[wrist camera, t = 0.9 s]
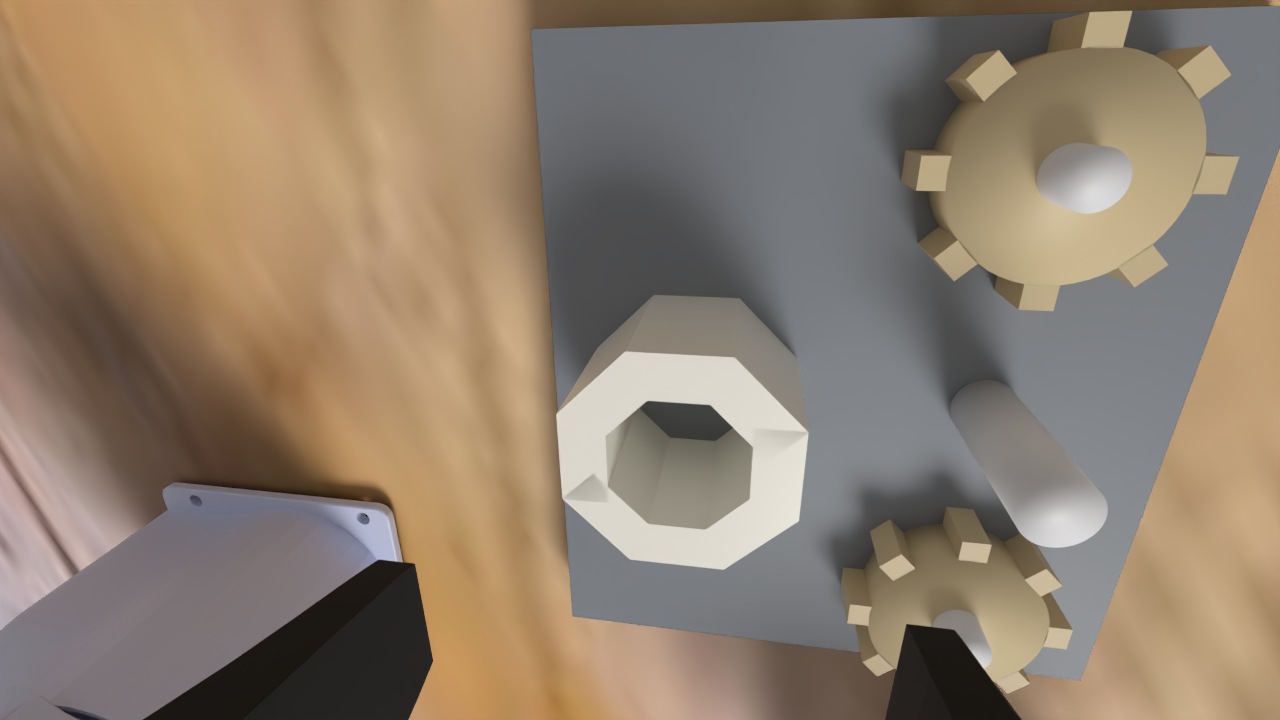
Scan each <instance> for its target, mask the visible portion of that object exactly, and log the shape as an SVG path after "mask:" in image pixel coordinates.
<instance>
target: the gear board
mask: <svg viewBox="0 0 1280 720" xmlns="http://www.w3.org/2000/svg"><path fill="white" fill-rule="evenodd" d="M531 42H532V56H533V70H534V84H535V98H536V112H537V126H538V140H539V154H540V168H541V182H542V196H543V210H544V224H545V238H546V252H547V266H548V280H549V293H550V307H551V321H552V335H553V349H554V363H555V377H556V391H557V405H558V410H559V409H560V407H561V406H562V404H563V402H564V401H565V399H566V398H567V396H568V394H569V393H570V391H571V390H572V388H573V386H574V385H575V383H576V382H577V380H578V378H579V377H580V375H581V374H582V372H583V370H584V369H585V367H586V366H587V364H588V362H589V361H590V359H591V358H592V356H593V354H594V353H595V351H596V350H597V348H598V347H599V346H600V345H601V344H602V343H603V342H604V341H605V340H606V339H607V338H608V337H609V336H611V335H612V334H613V333H614V332H615V331H616V330H617V329H618V328H619V327H620V326H621V325H622V324H623V323H624V322H625V321H627V320H628V319H629V318H630V317H631V316H632V315H633V314H634V313H635V312H636V311H637V310H638V309H639V308H640V307H642V306H643V305H644V304H645V303H646V302H647V301H648V300H649V299H650V298H651V297H652V296H653V295H672V296H697V297H723V298H740V299H741V300H742V301H743V302H744V303H745V304H746V305H747V307H748V308H749V309H750V310H751V311H752V312H753V313H754V314H755V315H756V316H757V317H758V318H759V319H760V320H761V321H762V322H763V323H764V324H765V325H766V326H767V327H768V328H769V329H770V330H771V331H772V333H773V334H774V335H775V336H776V337H777V338H778V339H779V340H780V341H781V342H782V343H783V344H784V345H785V346H786V347H787V348H788V349H789V350H790V351H791V352H792V353H793V354H794V355H795V356H796V358H797V362H798V368H799V375H800V381H801V387H802V394H803V400H804V406H805V413H806V419H807V425H808V431H809V434H808V443H807V452H806V461H805V470H804V479H803V489H802V498H801V507H800V516H799V521H798V522H797V523H795V524H794V525H792V526H791V527H789V528H788V529H786V530H785V531H783V532H781V533H780V534H778V535H777V536H775V537H774V538H772V539H771V540H769V541H767V542H766V543H764V544H763V545H761V546H760V547H758V548H757V549H755V550H754V551H752V552H750V553H749V554H747V555H746V556H744V557H743V558H741V559H740V560H738V561H736V562H735V563H733V564H732V565H730V566H729V567H727V568H726V569H724V570H721V569H712V568H703V567H693V566H684V565H675V564H666V563H657V562H648V561H639V560H630V559H629V558H628V557H627V556H625V555H624V554H623V553H622V552H621V551H620V550H619V549H618V548H617V547H615V546H614V545H613V544H612V543H611V542H610V541H609V540H608V539H607V538H605V537H604V536H603V535H602V534H601V533H600V532H599V531H598V530H597V529H595V528H594V527H593V526H592V525H591V524H590V523H589V522H588V521H587V520H585V519H584V518H583V517H582V516H581V515H580V514H579V513H578V512H577V511H575V510H574V509H573V508H572V507H571V506H570V505H569V504H568V503H567V502H565V501H564V503H565V517H566V531H567V545H568V559H569V573H570V587H571V601H572V615H573V616H574V617H582V618H590V619H598V620H606V621H614V622H622V623H629V624H637V625H645V626H653V627H661V628H669V629H677V630H685V631H693V632H701V633H709V634H716V635H724V636H732V637H740V638H748V639H756V640H764V641H772V642H780V643H788V644H796V645H803V646H811V647H819V648H827V649H835V650H843V651H851V652H859V653H861V658H862V662H863V663H864V664H865V665H866V666H867V667H868V668H869V669H870V670H871V671H872V672H873V673H874V674H875V675H876V676H877V677H878V676H880V675H882V674H884V673H886V672H888V671H890V670H892V669H897V664H898V660H899V655H900V651H901V646H902V641H903V637H904V632H905V628H906V624H911V625H920V626H928V627H936V628H944V629H952V630H955V631H956V632H957V633H958V635H959V636H960V637H961V638H962V640H963V641H964V642H965V644H966V645H967V646H968V648H969V649H970V650H971V652H972V653H973V655H974V656H975V657H976V659H977V660H978V661H979V663H980V664H981V666H982V667H983V668H984V670H985V671H986V672H987V674H988V675H989V677H990V678H991V679H992V681H993V682H996V683H997V684H998V685H999V686H1000V687H1001V688H1002V689H1003V690H1004V691H1005V692H1006V693H1007V694H1008V693H1010V692H1013V691H1015V690H1017V689H1020V688H1022V687H1024V686H1026V685H1029V684H1030V682H1029V680H1028V678H1027V676H1026V674H1033V675H1041V676H1049V677H1057V678H1065V679H1072V680H1080V681H1081V678H1082V676H1083V673H1084V670H1085V668H1086V665H1087V662H1088V660H1089V657H1090V654H1091V652H1092V649H1093V646H1094V644H1095V641H1096V638H1097V635H1098V633H1099V630H1100V627H1101V625H1102V622H1103V619H1104V617H1105V614H1106V611H1107V609H1108V606H1109V603H1110V601H1111V598H1112V595H1113V593H1114V590H1115V587H1116V585H1117V582H1118V579H1119V577H1120V574H1121V571H1122V569H1123V566H1124V563H1125V561H1126V558H1127V555H1128V553H1129V550H1130V547H1131V545H1132V542H1133V539H1134V537H1135V534H1136V531H1137V529H1138V526H1139V523H1140V520H1141V518H1142V515H1143V512H1144V510H1145V507H1146V504H1147V502H1148V499H1149V496H1150V494H1151V491H1152V488H1153V486H1154V483H1155V480H1156V478H1157V475H1158V472H1159V470H1160V467H1161V464H1162V462H1163V459H1164V456H1165V454H1166V451H1167V448H1168V446H1169V443H1170V440H1171V438H1172V435H1173V432H1174V430H1175V427H1176V424H1177V422H1178V419H1179V416H1180V414H1181V411H1182V408H1183V406H1184V403H1185V400H1186V397H1187V395H1188V392H1189V389H1190V387H1191V384H1192V381H1193V379H1194V376H1195V373H1196V371H1197V368H1198V365H1199V363H1200V360H1201V357H1202V355H1203V352H1204V349H1205V347H1206V344H1207V341H1208V339H1209V336H1210V333H1211V331H1212V328H1213V325H1214V323H1215V320H1216V317H1217V315H1218V312H1219V309H1220V307H1221V304H1222V301H1223V299H1224V296H1225V293H1226V291H1227V288H1228V285H1229V283H1230V280H1231V277H1232V274H1233V272H1234V269H1235V266H1236V264H1237V261H1238V258H1239V256H1240V253H1241V250H1242V248H1243V245H1244V242H1245V240H1246V237H1247V234H1248V232H1249V229H1250V226H1251V224H1252V221H1253V218H1254V216H1255V213H1256V210H1257V208H1258V205H1259V202H1260V200H1261V197H1262V194H1263V192H1264V189H1265V186H1266V184H1267V181H1268V178H1269V176H1270V173H1271V170H1272V168H1273V165H1274V162H1275V160H1276V157H1277V154H1278V151H1279V149H1280V6H1254V7H1222V8H1190V9H1158V10H1126V11H1094V12H1062V13H1030V14H998V15H966V16H934V17H902V18H870V19H838V20H806V21H774V22H742V23H710V24H678V25H646V26H614V27H582V28H550V29H531ZM639 408H640V409H641V410H642V411H643V412H644V413H645V414H646V415H647V416H648V417H649V418H650V419H651V420H652V421H653V422H654V423H655V424H656V425H657V426H658V427H659V428H660V429H662V430H663V431H664V432H665V433H666V434H667V435H668V436H669V437H670V438H682V439H695V440H708V441H716V440H718V439H719V438H720V437H722V436H723V435H724V434H726V433H727V432H728V431H730V430H731V429H732V428H733V427H732V426H731V425H730V424H729V423H728V422H727V421H726V420H725V419H724V418H723V417H722V416H721V415H720V414H719V413H718V412H717V411H716V410H715V409H714V408H713V407H712V406H711V405H703V404H688V403H673V402H659V401H647V402H645V403H644V404H643V405H642V406H641V407H639Z"/></svg>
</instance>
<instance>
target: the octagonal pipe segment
mask: <svg viewBox="0 0 1280 720" xmlns="http://www.w3.org/2000/svg"><path fill="white" fill-rule="evenodd" d="M647 401H659V402H673V403H688V404H703V405H711V406H712V407H713V408H714V409H715V410H716V411H717V412H718V413H719V414H720V415H721V416H722V417H723V418H724V419H725V420H726V421H727V422H728V423H729V424H730V425H731V426H732V427H733V428H732V429H731V430H730V431H728V432H727V433H726V434H724V435H723V436H722V437H720V438H719V439H718V440H716V441H708V440H695V439H682V438H670V437H669V436H668V435H667V434H666V433H665V432H664V431H663V430H662V429H660V428H659V427H658V426H657V425H656V424H655V423H654V422H653V421H652V420H651V419H650V418H649V417H648V416H647V415H646V414H645V413H644V412H643V411H642V410H641V409H640V408H639V407H641V406H642V405H643V404H644V403H645V402H647ZM556 419H557V433H558V447H559V460H560V474H561V488H562V499H563V500H564V501H565V502H567V503H568V504H569V505H570V506H571V507H572V508H573V509H574V510H575V511H577V512H578V513H579V514H580V515H581V516H582V517H583V518H584V519H585V520H587V521H588V522H589V523H590V524H591V525H592V526H593V527H594V528H595V529H597V530H598V531H599V532H600V533H601V534H602V535H603V536H604V537H605V538H607V539H608V540H609V541H610V542H611V543H612V544H613V545H614V546H615V547H617V548H618V549H619V550H620V551H621V552H622V553H623V554H624V555H625V556H627V557H628V558H629V559H630V560H639V561H648V562H657V563H666V564H675V565H684V566H693V567H703V568H712V569H721V570H724V569H726V568H727V567H729V566H730V565H732V564H733V563H735V562H736V561H738V560H740V559H741V558H743V557H744V556H746V555H747V554H749V553H750V552H752V551H754V550H755V549H757V548H758V547H760V546H761V545H763V544H764V543H766V542H767V541H769V540H771V539H772V538H774V537H775V536H777V535H778V534H780V533H781V532H783V531H785V530H786V529H788V528H789V527H791V526H792V525H794V524H795V523H797V522H798V521H799V516H800V507H801V498H802V489H803V479H804V470H805V461H806V452H807V443H808V434H809V431H808V425H807V419H806V413H805V406H804V400H803V394H802V387H801V381H800V375H799V368H798V362H797V358H796V356H795V355H794V354H793V353H792V352H791V351H790V350H789V349H788V348H787V347H786V346H785V345H784V344H783V343H782V342H781V341H780V340H779V339H778V338H777V337H776V336H775V335H774V334H773V333H772V331H771V330H770V329H769V328H768V327H767V326H766V325H765V324H764V323H763V322H762V321H761V320H760V319H759V318H758V317H757V316H756V315H755V314H754V313H753V312H752V311H751V310H750V309H749V308H748V307H747V305H746V304H745V303H744V302H743V301H742V300H741V299H740V298H723V297H697V296H672V295H653V296H652V297H651V298H650V299H649V300H648V301H647V302H646V303H645V304H644V305H643V306H642V307H640V308H639V309H638V310H637V311H636V312H635V313H634V314H633V315H632V316H631V317H630V318H629V319H628V320H627V321H625V322H624V323H623V324H622V325H621V326H620V327H619V328H618V329H617V330H616V331H615V332H614V333H613V334H612V335H611V336H609V337H608V338H607V339H606V340H605V341H604V342H603V343H602V344H601V345H600V346H599V347H598V348H597V350H596V351H595V353H594V354H593V356H592V358H591V359H590V361H589V362H588V364H587V366H586V367H585V369H584V370H583V372H582V374H581V375H580V377H579V378H578V380H577V382H576V383H575V385H574V386H573V388H572V390H571V391H570V393H569V394H568V396H567V398H566V399H565V401H564V402H563V404H562V406H561V407H560V409H559V410H558V412H557V413H556Z"/></svg>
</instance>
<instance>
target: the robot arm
mask: <svg viewBox="0 0 1280 720" xmlns="http://www.w3.org/2000/svg"><path fill="white" fill-rule="evenodd" d="M162 493H163V498H164V501H165V504H166V506H167V509H168V510H167V511H165V512H164V513H163V514H161V515H160V516H158V517H157V518H155V519H154V520H153V521H151V522H150V523H148V524H147V525H146V526H144V527H143V528H141V529H140V530H138V531H137V532H136V533H134V534H133V535H131V536H130V537H129V538H127V539H126V540H124V541H123V542H121V543H120V544H119V545H117V546H116V547H114V548H113V549H111V550H110V551H109V552H107V553H106V554H104V555H103V556H102V557H100V558H99V559H97V560H96V561H94V562H93V563H92V564H90V565H89V566H87V567H86V568H85V569H83V570H82V571H80V572H79V573H77V574H76V575H75V576H73V577H72V578H70V579H69V580H67V581H66V582H65V583H63V584H62V585H60V586H59V587H58V588H56V589H55V590H53V591H52V592H50V593H49V594H48V595H46V596H45V597H43V598H42V599H41V600H39V601H38V602H36V603H35V604H33V605H32V606H31V607H29V608H28V609H26V610H25V611H24V612H22V613H21V614H20V615H18V616H17V617H16V618H15V619H13V620H12V621H11V622H10V623H9V624H7V625H6V626H5V627H4V628H3V629H2V630H1V631H0V720H408V719H409V717H410V715H411V712H412V710H413V708H414V706H415V703H416V701H417V699H418V696H419V694H420V692H421V689H422V687H423V684H424V682H425V679H426V677H427V674H428V672H429V670H430V667H431V665H432V662H433V658H432V653H431V647H430V642H429V637H428V631H427V626H426V621H425V615H424V610H423V605H422V600H421V594H420V589H419V584H418V578H417V573H416V568H415V564H412V563H404V562H403V560H402V555H401V550H400V545H399V540H398V535H397V531H396V526H395V521H394V516H393V513H392V511H391V510H390V508H389V507H387V506H386V505H384V504H381V503H376V502H366V501H356V500H346V499H336V498H326V497H316V496H307V495H297V494H287V493H277V492H267V491H257V490H247V489H237V488H228V487H218V486H208V485H198V484H188V483H178V482H176V483H172V484H170V485H169V486H167V487H166V488H165V489H163V492H162ZM364 513H365V514H366V515H367V516H368V517H367V516H366V515H364ZM885 720H1021V718H1020V717H1019V716H1018V714H1017V713H1016V712H1015V710H1014V709H1013V708H1012V706H1011V705H1010V704H1009V702H1008V701H1007V700H1006V698H1005V697H1004V696H1003V694H1002V693H1001V692H1000V690H999V689H998V687H997V686H996V685H995V683H994V682H993V681H992V679H991V678H990V677H989V675H988V674H987V672H986V671H985V670H984V668H983V667H982V666H981V664H980V663H979V661H978V660H977V659H976V657H975V656H974V655H973V653H972V652H971V650H970V649H969V648H968V646H967V645H966V644H965V642H964V641H963V640H962V638H961V637H960V636H959V635H958V633H957V632H956V631H955V630H952V629H944V628H936V627H928V626H920V625H911V624H906V628H905V632H904V637H903V641H902V646H901V651H900V655H899V660H898V664H897V669H896V674H895V678H894V683H893V687H892V692H891V697H890V701H889V706H888V710H887V715H886V719H885Z"/></svg>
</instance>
